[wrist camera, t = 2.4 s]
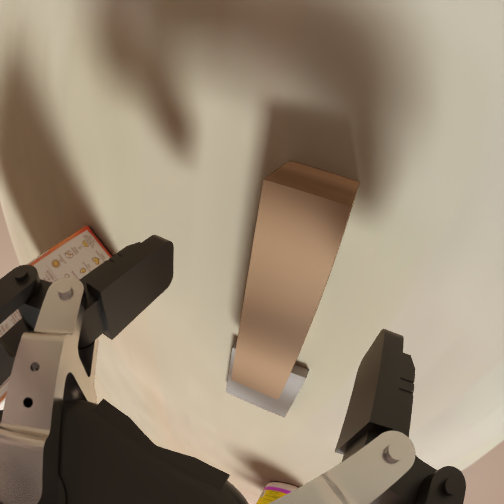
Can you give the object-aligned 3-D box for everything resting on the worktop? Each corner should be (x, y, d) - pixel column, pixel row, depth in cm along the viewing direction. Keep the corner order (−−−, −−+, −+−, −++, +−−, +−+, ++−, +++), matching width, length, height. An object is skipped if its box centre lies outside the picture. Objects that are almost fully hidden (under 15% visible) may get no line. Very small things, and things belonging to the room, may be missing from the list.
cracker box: (96, 332, 29) (-25, 454, 13) (62, 290, 29) (-64, 403, 12) (139, 283, 21) (-60, 480, 4) (89, 221, 20) (-120, 390, 4)
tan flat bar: (268, 154, 13) (236, 172, 10) (382, 189, 11) (380, 217, 9) (230, 384, 23) (212, 413, 20) (288, 409, 21) (273, 440, 19)
